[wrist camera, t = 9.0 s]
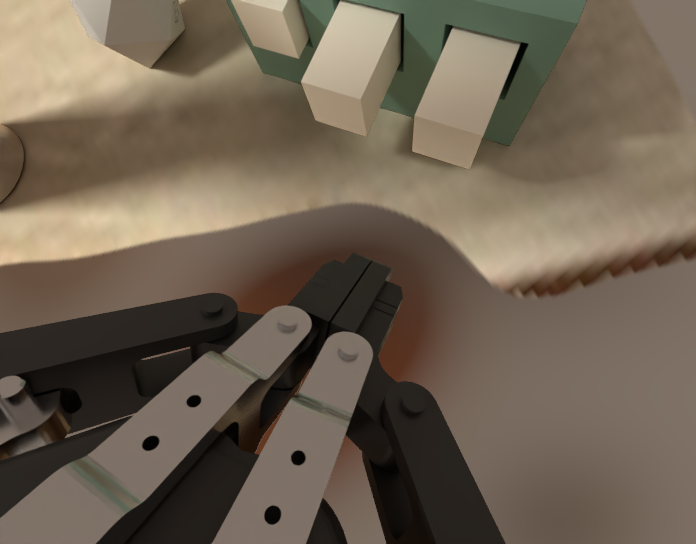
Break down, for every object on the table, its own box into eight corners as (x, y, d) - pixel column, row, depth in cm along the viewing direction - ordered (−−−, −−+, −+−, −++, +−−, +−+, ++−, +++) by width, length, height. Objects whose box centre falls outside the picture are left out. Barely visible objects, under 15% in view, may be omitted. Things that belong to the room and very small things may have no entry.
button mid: (315, 120, 25) (300, 81, 21) (350, 47, 26) (341, -3, 22) (366, 136, 24) (360, 99, 20) (400, 60, 25) (401, 11, 21)
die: (211, 68, 34) (178, -74, 27) (113, 87, 30) (47, -75, 23) (177, 53, 38) (141, -71, 32) (88, 68, 34) (26, -72, 28)
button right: (412, 151, 23) (414, 115, 20) (445, 72, 24) (454, 23, 20) (469, 169, 23) (483, 135, 19) (502, 87, 23) (521, 40, 20)
